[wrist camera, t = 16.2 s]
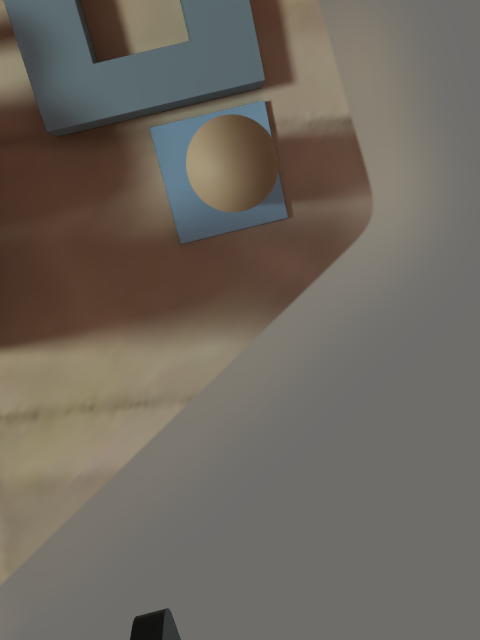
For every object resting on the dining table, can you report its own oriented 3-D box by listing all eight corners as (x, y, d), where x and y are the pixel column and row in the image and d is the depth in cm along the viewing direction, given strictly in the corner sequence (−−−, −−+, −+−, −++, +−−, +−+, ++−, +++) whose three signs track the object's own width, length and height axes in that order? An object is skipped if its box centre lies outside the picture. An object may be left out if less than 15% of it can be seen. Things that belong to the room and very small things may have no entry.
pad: (180, 243, 38) (180, 244, 37) (150, 128, 35) (149, 128, 35) (286, 217, 38) (287, 217, 37) (263, 101, 35) (264, 100, 35)
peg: (199, 214, 37) (199, 222, 25) (183, 150, 35) (175, 126, 24) (260, 199, 37) (287, 200, 25) (246, 134, 35) (268, 104, 24)
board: (57, 136, 35) (46, 132, 32) (-12, -79, 31) (-30, -102, 29) (260, 88, 35) (265, 79, 33) (216, -131, 31) (218, -158, 29)
